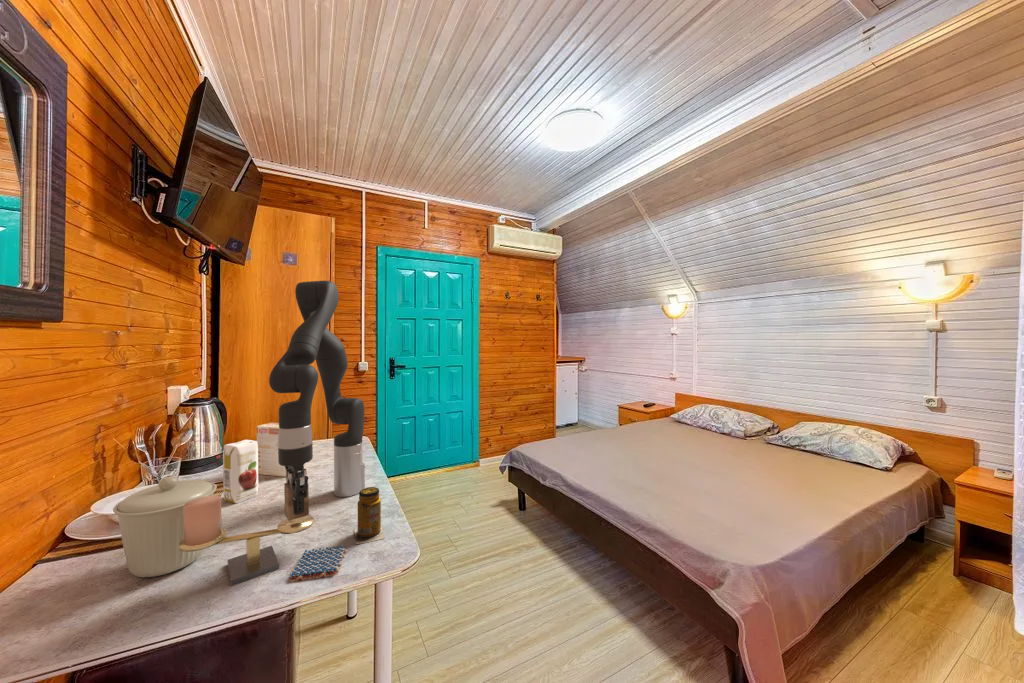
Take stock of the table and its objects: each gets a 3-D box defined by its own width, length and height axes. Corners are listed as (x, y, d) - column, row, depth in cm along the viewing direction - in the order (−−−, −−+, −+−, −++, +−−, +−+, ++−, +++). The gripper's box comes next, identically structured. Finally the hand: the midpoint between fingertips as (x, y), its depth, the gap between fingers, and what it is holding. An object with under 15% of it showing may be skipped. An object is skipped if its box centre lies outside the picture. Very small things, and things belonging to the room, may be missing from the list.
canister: (157, 594, 78) (156, 495, 77) (90, 584, 81) (89, 489, 81) (235, 546, 95) (234, 466, 95) (178, 539, 99) (177, 462, 98)
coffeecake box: (301, 471, 149) (301, 423, 149) (287, 477, 142) (286, 427, 142) (271, 468, 153) (271, 421, 153) (256, 474, 146) (255, 425, 146)
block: (304, 508, 96) (304, 478, 96) (308, 514, 93) (308, 483, 93) (284, 514, 93) (284, 483, 93) (288, 521, 90) (287, 488, 90)
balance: (308, 538, 99) (308, 500, 99) (318, 554, 92) (318, 513, 92) (179, 580, 82) (179, 535, 82) (178, 604, 74) (178, 554, 74)
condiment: (381, 524, 107) (380, 483, 106) (384, 538, 99) (384, 494, 99) (354, 530, 103) (353, 488, 103) (355, 545, 96) (355, 500, 96)
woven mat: (287, 585, 81) (287, 576, 81) (303, 557, 91) (302, 549, 91) (337, 578, 83) (337, 569, 83) (347, 551, 94) (347, 543, 94)
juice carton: (220, 501, 121) (219, 444, 121) (247, 491, 129) (246, 438, 129) (234, 505, 119) (234, 447, 118) (261, 494, 127) (261, 440, 126)
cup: (220, 527, 85) (220, 493, 85) (222, 538, 80) (222, 502, 80) (183, 537, 81) (183, 501, 81) (183, 549, 76) (183, 511, 76)
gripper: (319, 446, 90) (320, 515, 90) (305, 434, 100) (306, 496, 101) (284, 453, 85) (285, 526, 85) (273, 440, 95) (274, 504, 96)
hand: (296, 509), depth 93 cm, fingers closed on block, 4 cm apart
